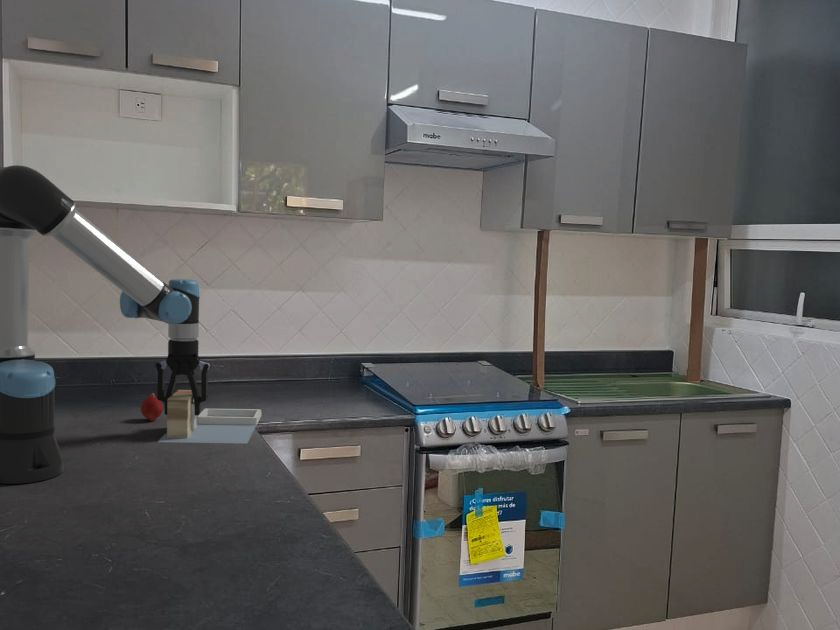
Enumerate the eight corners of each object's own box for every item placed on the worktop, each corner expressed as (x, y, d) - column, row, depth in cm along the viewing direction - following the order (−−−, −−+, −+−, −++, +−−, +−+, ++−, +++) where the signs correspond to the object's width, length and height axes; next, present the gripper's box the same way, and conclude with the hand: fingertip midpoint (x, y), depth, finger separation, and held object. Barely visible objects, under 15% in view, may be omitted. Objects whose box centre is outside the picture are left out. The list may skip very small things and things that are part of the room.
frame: (256, 425, 210) (256, 418, 210) (197, 424, 208) (197, 417, 208) (261, 416, 221) (261, 409, 221) (204, 415, 219) (204, 408, 219)
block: (187, 438, 193) (187, 398, 192) (167, 438, 192) (167, 398, 192) (196, 427, 205) (197, 389, 204) (177, 426, 204) (178, 389, 203)
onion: (136, 421, 209) (136, 393, 209) (152, 418, 214) (152, 390, 214) (151, 424, 207) (151, 395, 206) (167, 421, 212) (167, 392, 211)
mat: (247, 444, 190) (247, 443, 190) (157, 443, 188) (157, 442, 188) (262, 414, 224) (262, 413, 224) (186, 413, 222) (186, 412, 222)
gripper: (221, 338, 201) (219, 424, 203) (151, 336, 199) (150, 423, 201) (216, 341, 194) (215, 431, 196) (143, 339, 192) (142, 430, 194)
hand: (182, 427), depth 198 cm, fingers closed on block, 5 cm apart
